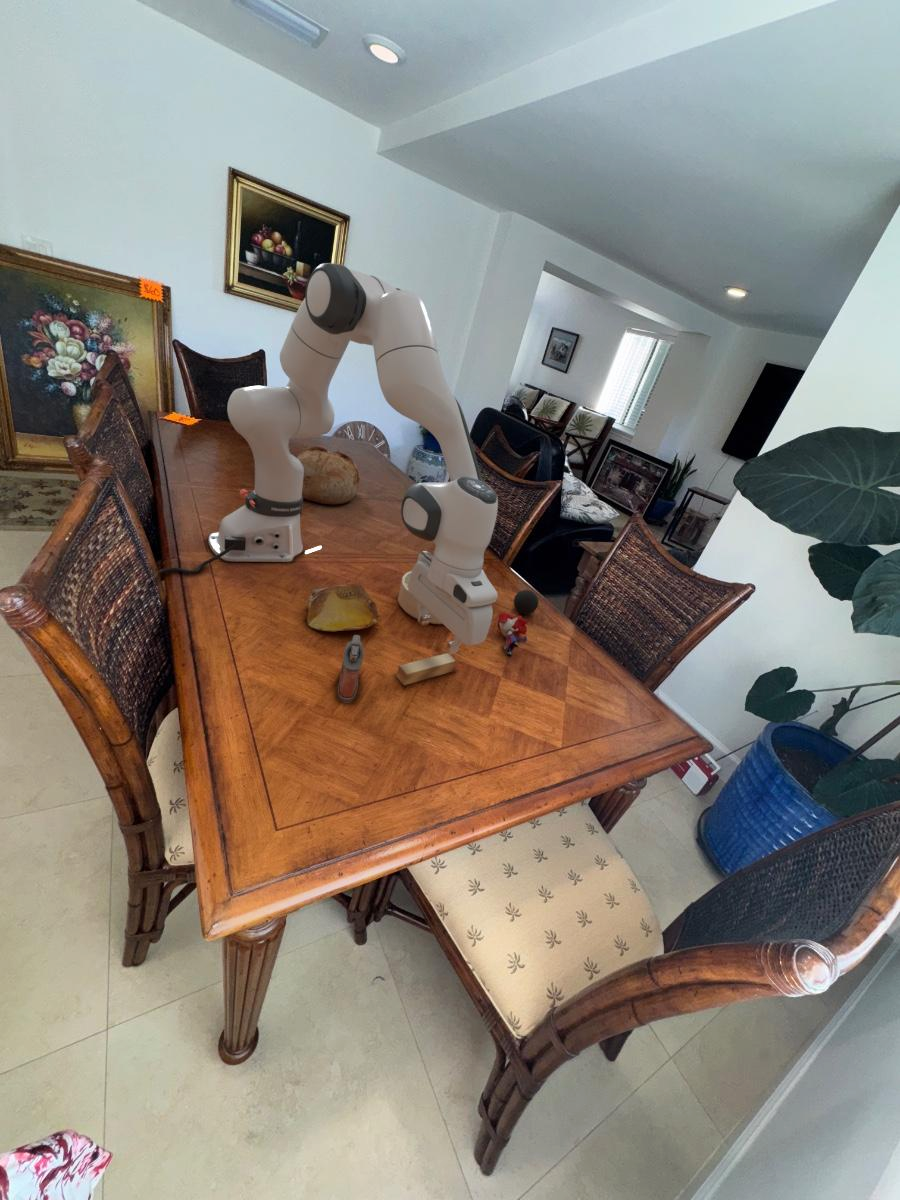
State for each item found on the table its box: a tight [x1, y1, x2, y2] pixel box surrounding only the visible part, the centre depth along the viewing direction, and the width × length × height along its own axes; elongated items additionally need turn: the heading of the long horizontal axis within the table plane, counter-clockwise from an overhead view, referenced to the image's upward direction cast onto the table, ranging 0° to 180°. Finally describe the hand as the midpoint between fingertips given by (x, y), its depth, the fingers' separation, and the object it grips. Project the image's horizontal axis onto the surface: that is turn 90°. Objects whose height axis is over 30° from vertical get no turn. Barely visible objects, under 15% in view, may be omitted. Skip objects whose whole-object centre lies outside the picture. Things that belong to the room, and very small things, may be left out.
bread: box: [296, 445, 361, 506], centre depth 164 cm, size 26×23×15 cm
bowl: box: [397, 570, 443, 625], centre depth 117 cm, size 16×16×6 cm
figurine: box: [497, 612, 530, 658], centre depth 112 cm, size 6×8×15 cm
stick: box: [396, 652, 456, 686], centre depth 95 cm, size 12×3×3 cm, turn 127°
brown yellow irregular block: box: [306, 583, 380, 632], centre depth 104 cm, size 17×8×15 cm
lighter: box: [337, 634, 365, 704], centre depth 84 cm, size 8×3×10 cm, turn 5°
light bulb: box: [513, 589, 539, 615], centre depth 128 cm, size 6×6×10 cm
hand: (436, 636), depth 91 cm, fingers open, 8 cm apart
